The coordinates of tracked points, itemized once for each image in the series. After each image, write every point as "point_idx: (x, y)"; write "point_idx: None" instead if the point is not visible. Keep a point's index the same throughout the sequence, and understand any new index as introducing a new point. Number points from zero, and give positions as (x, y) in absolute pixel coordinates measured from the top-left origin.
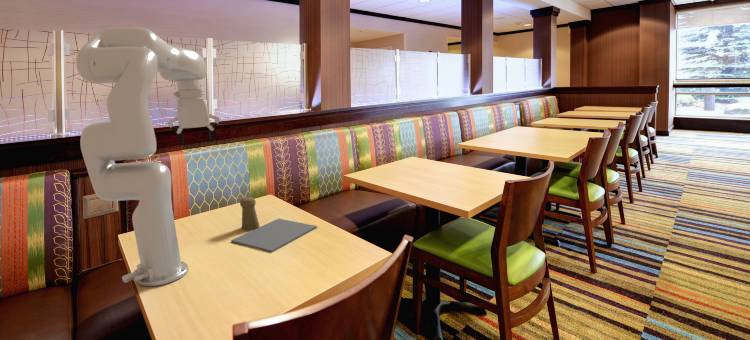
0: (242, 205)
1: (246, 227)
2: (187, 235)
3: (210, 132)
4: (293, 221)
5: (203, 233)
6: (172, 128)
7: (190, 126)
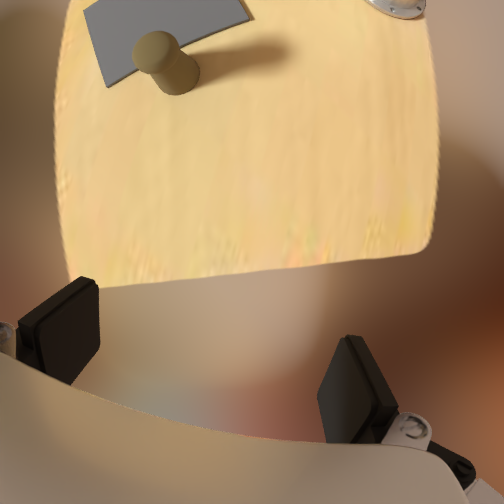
0: (177, 41)
1: (191, 58)
2: (325, 128)
3: (35, 317)
4: (95, 51)
5: (288, 112)
6: (468, 462)
7: (276, 448)
